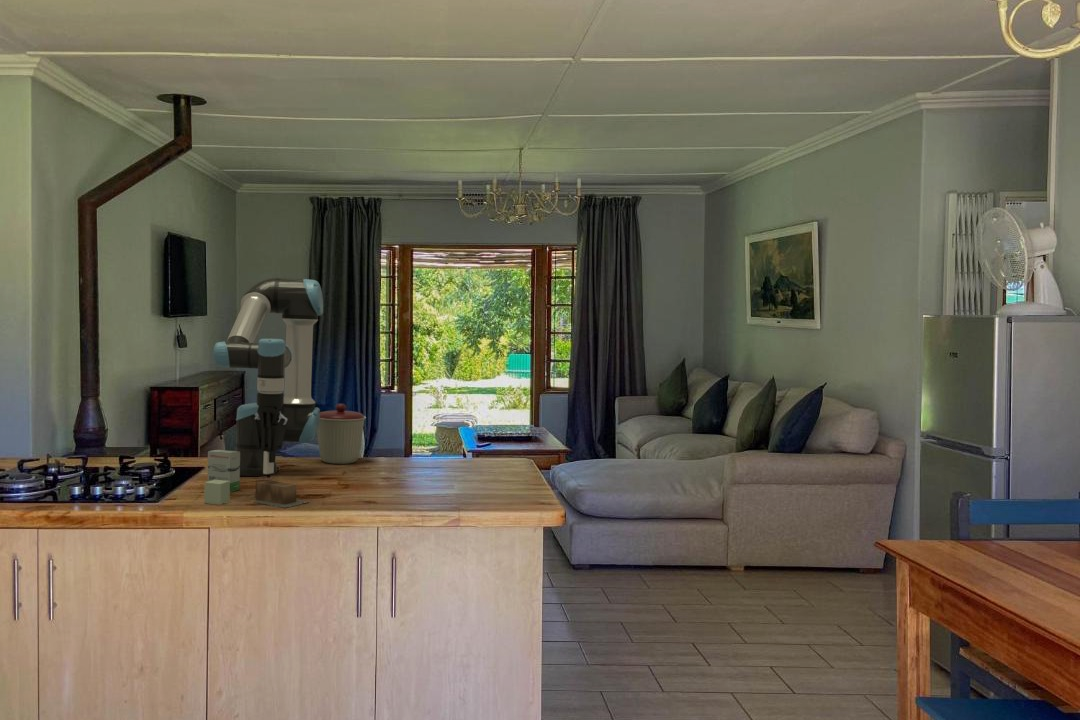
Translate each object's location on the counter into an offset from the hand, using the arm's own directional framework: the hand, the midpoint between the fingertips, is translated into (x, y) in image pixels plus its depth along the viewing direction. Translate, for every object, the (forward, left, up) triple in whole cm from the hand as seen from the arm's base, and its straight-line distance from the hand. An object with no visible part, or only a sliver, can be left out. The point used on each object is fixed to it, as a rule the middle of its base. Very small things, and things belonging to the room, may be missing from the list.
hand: (268, 473), depth 298 cm
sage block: (-9, -11, -8) cm, 16 cm away
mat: (+5, 0, -8) cm, 9 cm away
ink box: (-21, +3, -8) cm, 23 cm away
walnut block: (-3, 0, -5) cm, 6 cm away
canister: (-28, +65, -8) cm, 71 cm away
